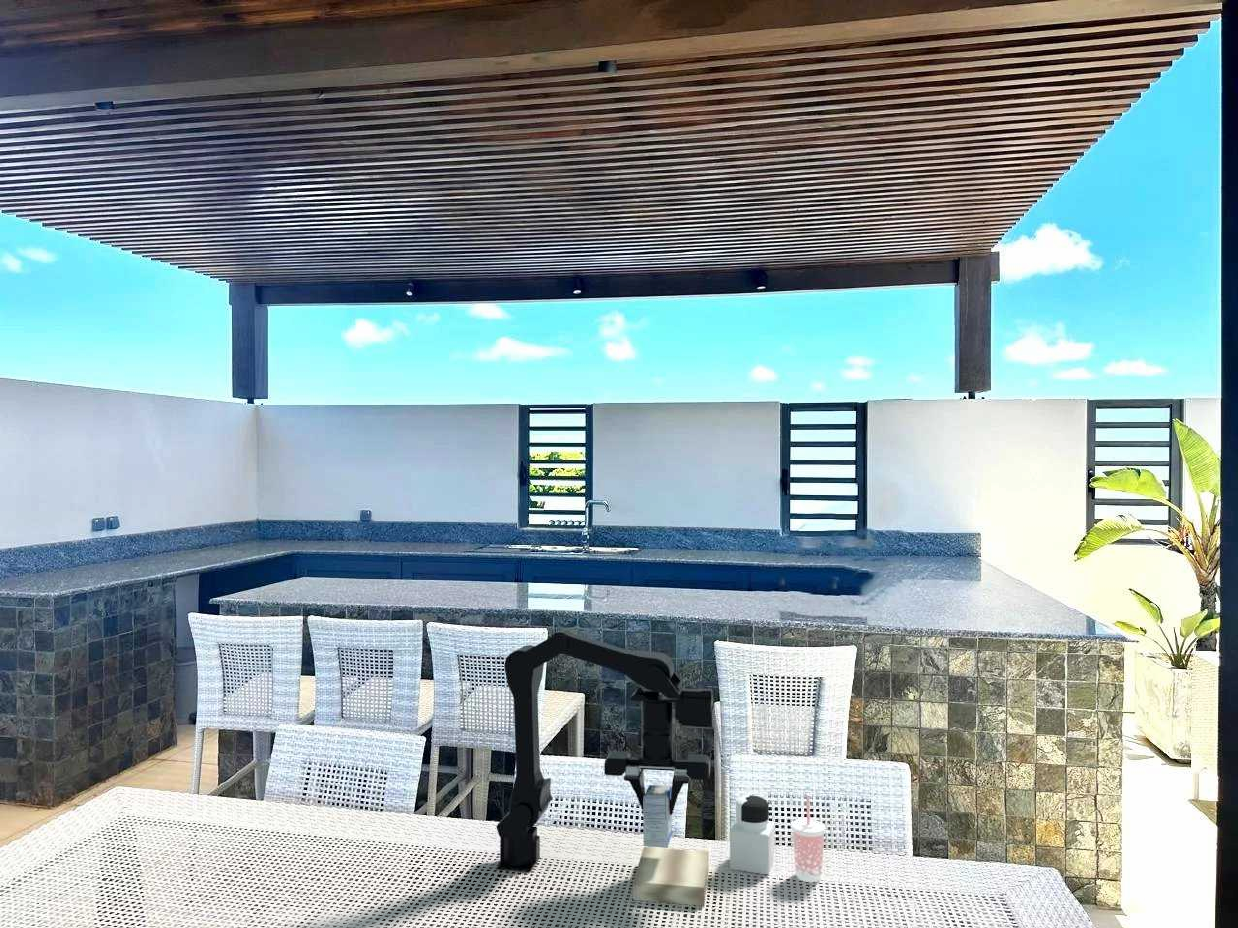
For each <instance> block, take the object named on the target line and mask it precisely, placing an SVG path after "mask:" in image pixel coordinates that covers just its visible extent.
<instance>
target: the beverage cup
mask: <svg viewBox="0 0 1238 928" xmlns="http://www.w3.org/2000/svg"><path fill="white" fill-rule="evenodd" d="M810 807H811V805H810V797H809V796H806V818H799V819H795V820H793V821H792V822H790V827H791V828H790V829H791V831H792V841H793V853H794V856H793V857H794V871H795V877H796V876H797V877H798V878H799V880H800V881H802V880H803V881H802V882H806V883H816V882H820V881H821V880H822V877H823V864H824V863H823V862H824V861H823V860H824V841H825V834H826V829H827V828H826V827H827V826H826V825H825V824H824V823H823V822H821V821H818V820H815V819H811V818H810V816H811V815H810V814H811V813H810V811H811V809H810ZM797 877H796V878H797ZM798 878H797V879H798Z"/></svg>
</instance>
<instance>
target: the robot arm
mask: <svg viewBox="0 0 1238 928" xmlns="http://www.w3.org/2000/svg"><path fill="white" fill-rule="evenodd" d="M559 655H564V656H568V657H572V658H574V659H577V660H581V661H583V662H585V663H590V664H593V665H595V666H600V667H602V668H606V669H609V670H612V671H614V672H617V673H620V674H622V675H623V676H626V677H627V678H628V679H630V680H631V681H632V682H634V683H636V684H637V685H639V686H638V688H637V690H635V692H633V693H632V695H631V696H630V699H629V700H630V701H633V702H640V705H641V729H638V730H637V742H636V743H637V747H638V748H641V757H631V754H630V751H627V750H625V751H623V750H620V751H619V750H610V752H609V753H608V755H607V756H606V759H605V760H604V764H603V765H604V769H603V770H604V771H603V772H604V773H603V774H604V775H605V776H615V777H616V776H617V777H622V776H623V781H626V782H629V784H630V786H631V787H632V790H633V791H634V793H635V795H636V797H637V801H638V803H639V805H640V808H641V811H642V812H643V799H644V795H645V793H646V788H645V776H644V775H645V774H644V773H645V772H644V770H646V771H669V772H672V771H673V776H672V783H671V787H672V790H671V799H670V815H672V816H673V813H674V811H675V810H674V809H675V807H676V803H677V800H678V796H679V794H680V792H681V790H682V788H683V786H684V785H687V784H689V783H690V781H691V780H700V781H706V780H709V779H710V775H711V774H710V773H711V759H710V757H709V755H708V754H700V753H699V754H695V753H688V755H687V759H674V758H675V757H676V741H675V736H674V715H675V721H676V722H677V723H678V724H679V725H681V728H696V729H697V728H698V729H710V730H711V729H714V728H715V717H716V716H715V711H716V708H715V707H716V706H715V703H714V695H713V689H712V688H698V689H697V688H686V685H685V684H684V683H683V681H682V680H681V678H680V677H679V676H678V675H677V673H676V671H675V665H674V662H673V660H672V659H671V657H670V656H669V655H668V654H666V653H663V652H658V651H651V650H631V649H625V648H623V647H619V646H617V645H613V644H609V643H607V642H603V641H600V640H598V639H594V638H591V637H587V636H584V635H581V634H578V633H574V632H572V631H571V630H568V629H565V628H564V629H560V630H558V631H557V632H555V633H553V634H552V635H551V637H549V638H547V639H545V640H543V641H542V642H540V643H538V644H537V645H531V644H528V645H527V644H526V645H523V646H521V647H520V648H518V649H516V650H514V651H512V652H511V653H509V654H508V655H507V657H506V658H505V661H504V667H503V668H504V672H505V677H506V684H507V686H508V688H509V691H510V693H511V695H512V697H513V713H514V745H515V746H514V747H515V780H514V782H513V786H512V789H511V794H510V799H509V800H510V801H509V807H508V812H507V813H506V815H505V816H504V817H503V818H502V819H501V820H500V821H499V822H498V823H497V824H496V829H497V833H498V836H499V837H500V839H499V842H500V847H499V850H500V851H499V862H498V864H497V865H496V869H498V870H509V871H518V872H521V871H523V872H531V871H532V870H533V869H534V867H535V865H536V864H537V863H538V861H539V860H540V858H541V855H540V853H541V851H540V850H541V847H540V846H541V836H539V835H538V827H537V826H535V825H536V824H537V823H538V821H539V820H540V819H541V817H542V816H543V815H544V814H545V813H546V812H547V809H548V808H549V805H550V803H551V801H552V800H553V796H552V793H551V786H552V779H551V778H550V777H548V778H544V776H543V774H542V771H541V764H540V763H541V760H540V759H541V758H540V756H541V755H540V754H541V753H540V733H539V732H540V730H539V729H540V728H539V727H540V726H539V705H538V704H539V703H538V702H539V699H538V698H539V697H538V694H539V690H540V686H541V681H542V680H543V674H544V673H543V672H544V665H545V663H547V662H549V661H551V660H552V659H554V658H556V657H558V656H559ZM674 703H675V706H674ZM674 707H675V709H674ZM674 710H675V711H674ZM674 713H675V714H674Z"/></svg>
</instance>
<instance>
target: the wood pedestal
mask: <svg viewBox="0 0 1238 928" xmlns="http://www.w3.org/2000/svg"><path fill="white" fill-rule="evenodd" d="M708 876H709V851H704V850H694V849H693V850H690V849H689V850H688V849H678V848H665V847H649V846H643V849H642V852H641V855H640V859H639V862H638V864H637V869H636V871H635V874H634V878H633V881H632V900H633V901H640V902H642V901H643V902H652V903H665V904H675V905H688V906H700V907H705V903H706V896H705V895H706V893H707V886H708Z"/></svg>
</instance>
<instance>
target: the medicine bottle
mask: <svg viewBox="0 0 1238 928" xmlns="http://www.w3.org/2000/svg"><path fill="white" fill-rule="evenodd" d="M769 807H770V806H769V802H768V801H767V800H766V799H765V798H763V797H761V796H758V795H754V794H753V795H749V794H747V795H743V796H740V797H738V798H737V799H736V800H735V820H734V822H733V824H732V826H731V828H730V831H729V868H730V870H732V869H735V870H734V871H738V870H740V871H739V872H744V871H747V872H746V873H751V872H753V874H757V873H760V874H759V875H764V874H768V875H770V873H771V869H772V865H773V864H772V863H774V861H775V822H774V821H773V820H772V821H771V820H769V819H770V818H769V817H770V815H769V811H770V810H769V809H770V808H769Z"/></svg>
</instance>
